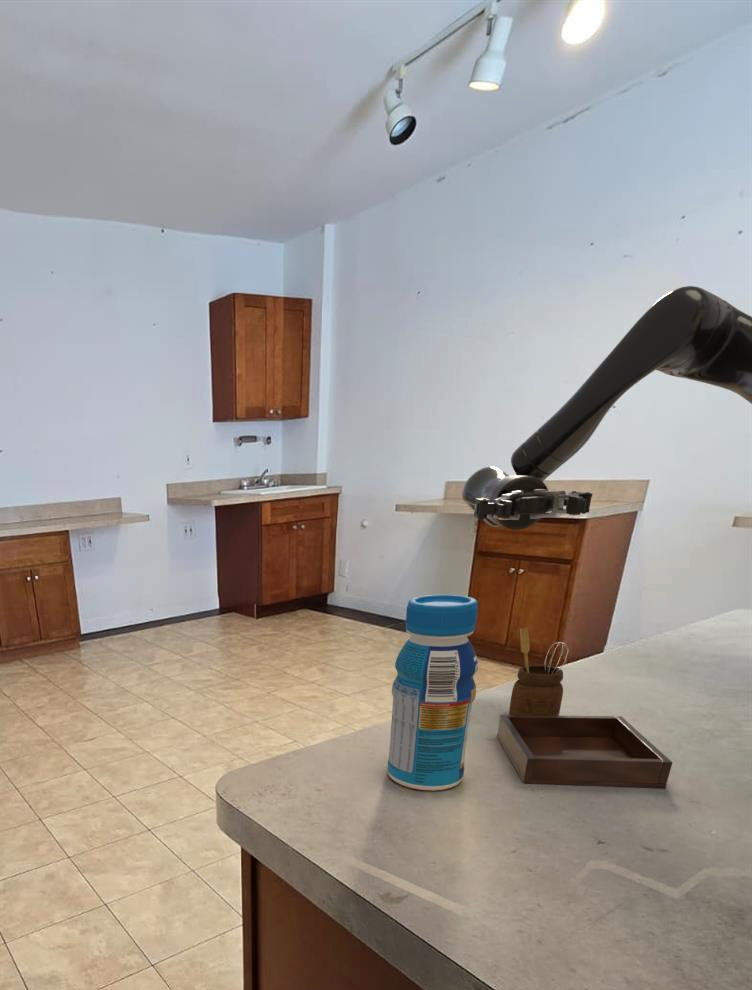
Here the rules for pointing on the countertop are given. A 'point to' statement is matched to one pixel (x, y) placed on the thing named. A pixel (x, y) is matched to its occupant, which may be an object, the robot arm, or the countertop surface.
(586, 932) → the countertop surface
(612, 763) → the tray box
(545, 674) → the utensil holder
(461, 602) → the beverage bottle
